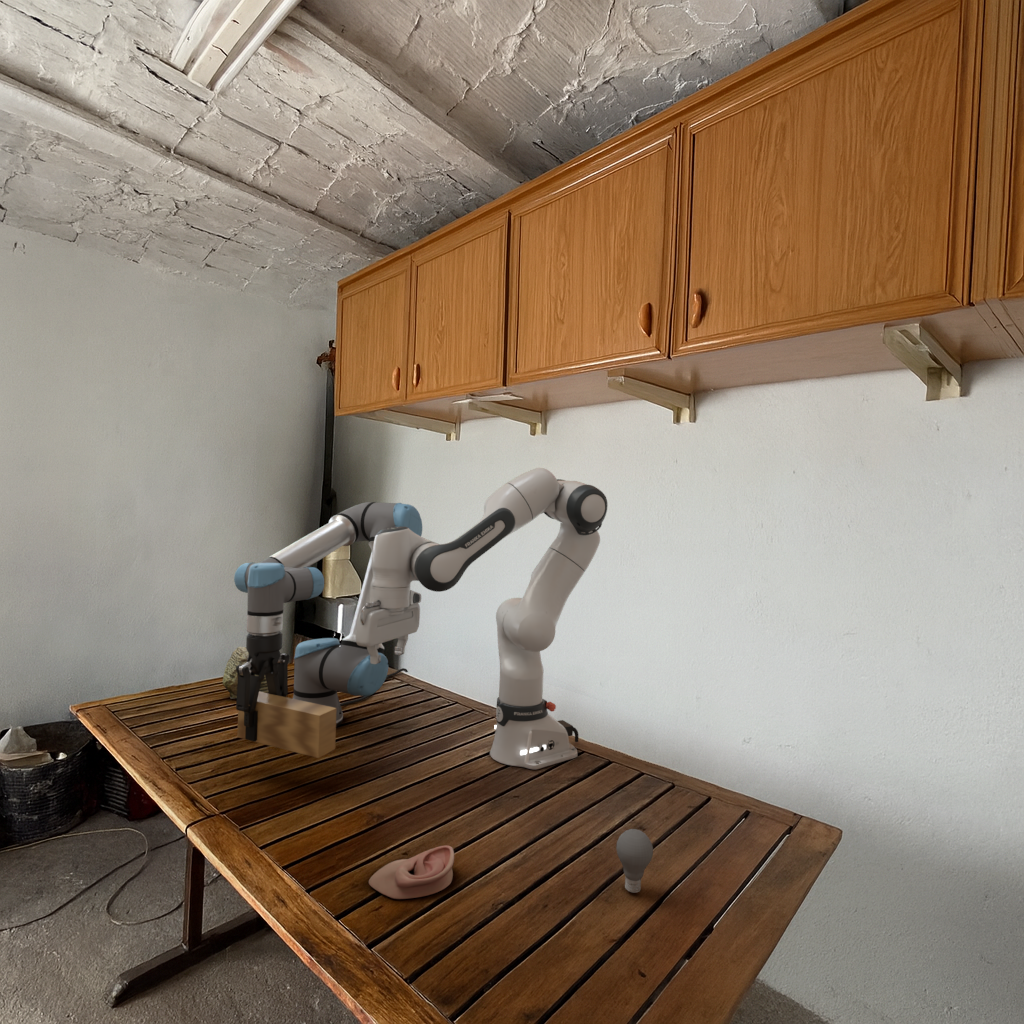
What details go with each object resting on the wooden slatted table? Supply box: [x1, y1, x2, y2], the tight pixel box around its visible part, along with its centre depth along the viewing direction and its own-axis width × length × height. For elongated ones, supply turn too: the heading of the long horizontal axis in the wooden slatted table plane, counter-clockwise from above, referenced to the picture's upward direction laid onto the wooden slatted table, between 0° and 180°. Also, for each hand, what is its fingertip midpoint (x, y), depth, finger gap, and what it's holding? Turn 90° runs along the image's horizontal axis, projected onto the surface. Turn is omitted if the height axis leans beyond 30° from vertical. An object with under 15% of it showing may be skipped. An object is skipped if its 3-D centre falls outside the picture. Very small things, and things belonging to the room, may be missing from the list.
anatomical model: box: [368, 844, 455, 900], centre depth 106 cm, size 13×4×12 cm
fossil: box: [222, 646, 282, 699], centre depth 198 cm, size 9×18×15 cm, turn 132°
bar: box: [236, 692, 337, 759], centre depth 139 cm, size 23×5×9 cm, turn 66°
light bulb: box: [615, 828, 654, 894], centre depth 106 cm, size 6×6×10 cm
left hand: (261, 734), depth 142 cm, fingers closed on bar, 5 cm apart
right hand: (387, 658), depth 144 cm, fingers open, 8 cm apart
